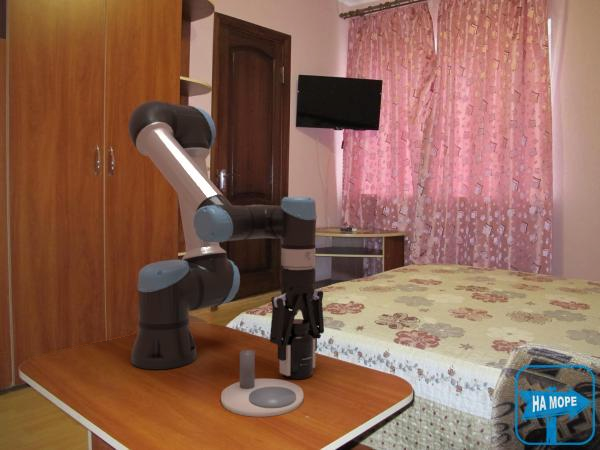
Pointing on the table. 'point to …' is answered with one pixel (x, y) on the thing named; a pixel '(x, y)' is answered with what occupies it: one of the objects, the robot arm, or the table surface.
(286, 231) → the robot arm
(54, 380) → the table surface
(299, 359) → the supplement bottle
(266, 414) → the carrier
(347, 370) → the table surface
